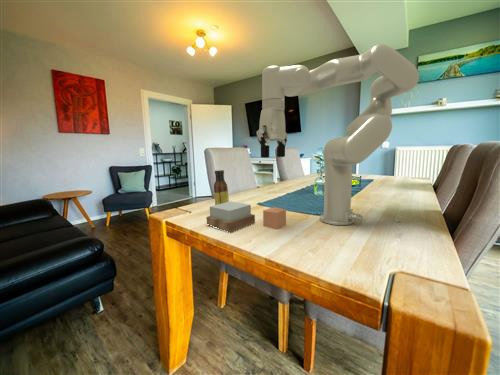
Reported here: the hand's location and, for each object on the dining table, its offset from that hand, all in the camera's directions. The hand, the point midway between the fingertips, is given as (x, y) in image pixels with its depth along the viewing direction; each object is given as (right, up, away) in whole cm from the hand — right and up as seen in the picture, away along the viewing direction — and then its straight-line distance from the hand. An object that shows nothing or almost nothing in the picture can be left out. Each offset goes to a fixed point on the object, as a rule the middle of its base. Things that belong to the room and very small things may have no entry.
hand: (273, 157), depth 77 cm
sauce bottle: (-21, -23, +22) cm, 38 cm away
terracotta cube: (+1, -25, +4) cm, 25 cm away
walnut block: (-16, -26, +6) cm, 31 cm away
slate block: (-16, -22, +6) cm, 27 cm away
